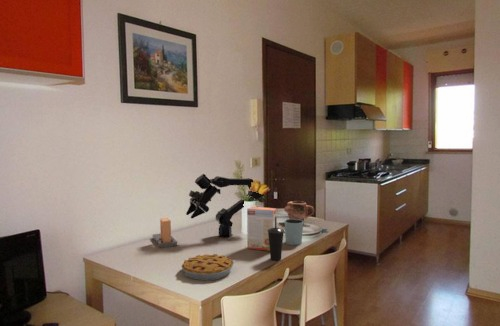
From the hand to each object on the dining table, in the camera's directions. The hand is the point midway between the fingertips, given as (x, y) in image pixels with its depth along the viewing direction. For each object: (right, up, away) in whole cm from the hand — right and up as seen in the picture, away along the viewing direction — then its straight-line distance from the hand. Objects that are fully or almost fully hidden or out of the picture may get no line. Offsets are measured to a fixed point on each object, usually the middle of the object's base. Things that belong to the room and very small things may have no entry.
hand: (188, 216), depth 200 cm
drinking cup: (+45, -16, -29) cm, 56 cm away
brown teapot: (+65, -10, +40) cm, 77 cm away
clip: (-12, -14, -4) cm, 19 cm away
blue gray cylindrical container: (+57, -14, -4) cm, 59 cm away
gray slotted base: (-13, -14, -1) cm, 19 cm away
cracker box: (+39, -15, -13) cm, 44 cm away
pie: (+15, -17, -44) cm, 50 cm away
